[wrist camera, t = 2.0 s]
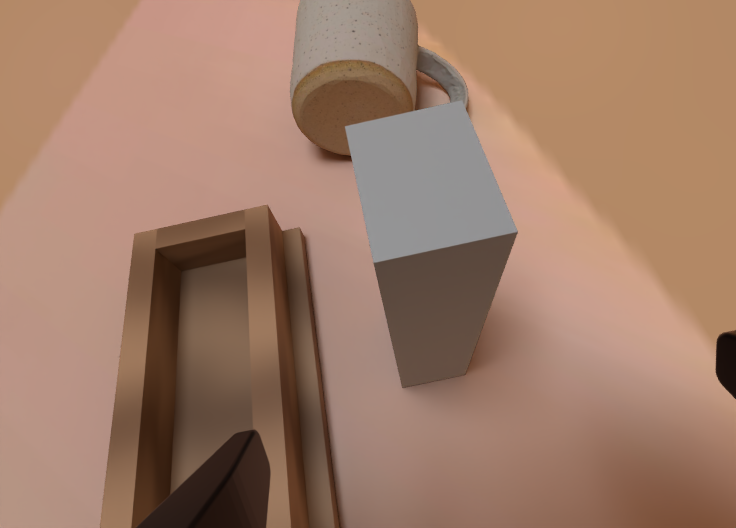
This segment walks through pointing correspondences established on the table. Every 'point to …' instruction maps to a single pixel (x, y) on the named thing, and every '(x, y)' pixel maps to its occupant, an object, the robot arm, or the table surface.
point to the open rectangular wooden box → (219, 368)
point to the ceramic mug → (359, 67)
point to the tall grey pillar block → (431, 234)
